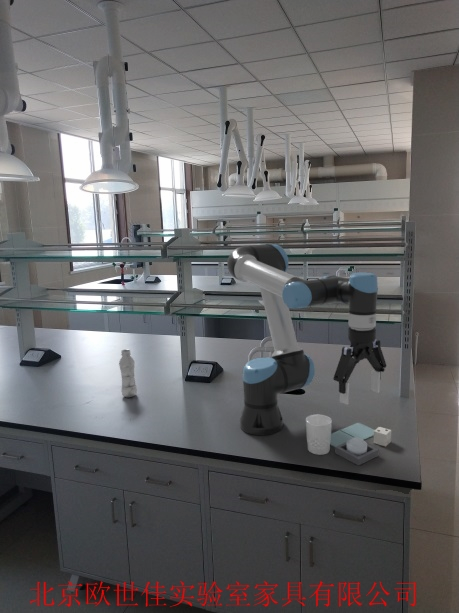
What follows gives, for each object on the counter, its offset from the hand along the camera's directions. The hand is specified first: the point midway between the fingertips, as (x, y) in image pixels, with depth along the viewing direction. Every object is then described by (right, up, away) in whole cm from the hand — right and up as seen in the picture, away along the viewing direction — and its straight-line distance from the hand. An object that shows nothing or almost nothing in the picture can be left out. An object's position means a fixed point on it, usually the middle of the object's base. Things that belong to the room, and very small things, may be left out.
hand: (360, 397), depth 131 cm
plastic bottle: (-81, -11, +57) cm, 99 cm away
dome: (0, -18, +4) cm, 18 cm away
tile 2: (+5, -15, +18) cm, 24 cm away
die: (+10, -16, +10) cm, 22 cm away
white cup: (-11, -18, +8) cm, 22 cm away
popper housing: (0, -18, +4) cm, 19 cm away
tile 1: (-3, -17, +13) cm, 21 cm away
